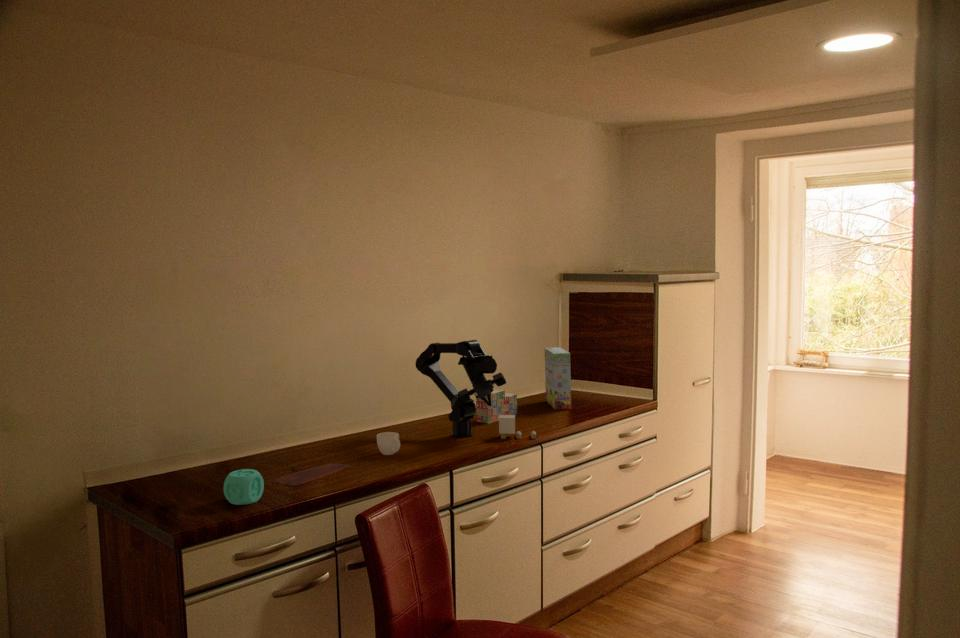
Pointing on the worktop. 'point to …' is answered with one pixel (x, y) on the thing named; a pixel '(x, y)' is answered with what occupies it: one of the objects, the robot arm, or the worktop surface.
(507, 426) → the slab
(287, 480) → the wooden tablet
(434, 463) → the worktop surface
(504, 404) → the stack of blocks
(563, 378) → the snack box
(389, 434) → the cup
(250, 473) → the decorative dice
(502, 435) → the roller
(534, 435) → the roller
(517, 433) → the cylinder
